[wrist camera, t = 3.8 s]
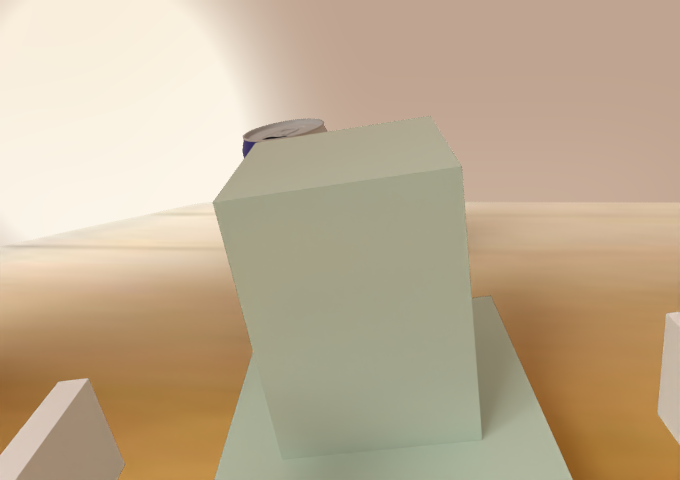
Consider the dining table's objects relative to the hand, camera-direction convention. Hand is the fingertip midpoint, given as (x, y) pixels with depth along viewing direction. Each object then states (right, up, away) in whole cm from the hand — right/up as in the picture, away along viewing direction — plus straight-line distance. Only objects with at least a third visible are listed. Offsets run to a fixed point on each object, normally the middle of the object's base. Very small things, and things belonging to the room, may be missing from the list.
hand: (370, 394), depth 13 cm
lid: (+1, -3, +9) cm, 9 cm away
